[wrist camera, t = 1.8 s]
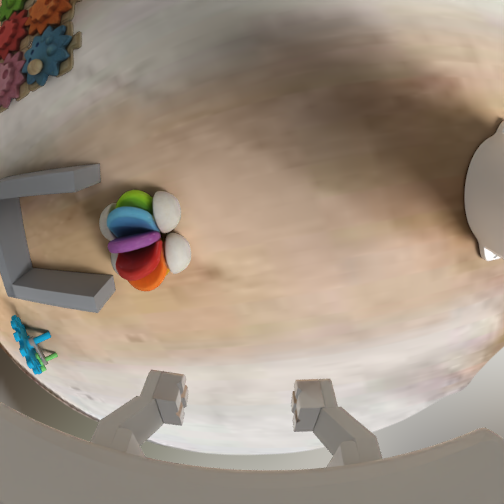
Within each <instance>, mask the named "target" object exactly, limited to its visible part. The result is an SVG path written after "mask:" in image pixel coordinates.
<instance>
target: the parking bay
mask: <svg viewBox="0 0 504 504" xmlns="http://www.w3.org/2000/svg"><path fill="white" fill-rule="evenodd" d="M100 182H101V178H100V164H90V165H81V166H73V167H65V168H57V169H50V170H43V171H37V172H31V173H25V174H19V175H14V176H9V177H5V178H2V179H0V273H1V277H2V280H3V283H4V286H5V289H6V292H7V295H8V296H9V297H13V298H18V299H22V300H27V301H32V302H37V303H42V304H47V305H53V306H58V307H64V308H70V309H76V310H82V311H88V312H95V313H98V312H99V311H100V310H101V308H102V307H103V306H104V304H105V303H106V302H107V301H108V299H109V298H110V297H111V295H112V294H113V293H114V292H115V290H116V289H115V284H114V279H113V275H102V274H91V273H80V272H69V271H58V270H49V269H39V268H33V266H32V263H31V259H30V254H29V250H28V246H27V241H26V236H25V231H24V226H23V220H22V214H21V208H20V201H19V197H25V196H35V195H46V194H57V193H71V192H77V191H80V190H82V189H84V188H87V187H89V186H92V185H94V184H97V183H100Z"/></svg>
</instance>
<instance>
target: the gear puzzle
mask: <svg viewBox="0 0 504 504" xmlns="http://www.w3.org/2000/svg"><path fill="white" fill-rule="evenodd" d="M80 1H82V0H2V6H1V7H0V21H1V27H0V113H1V112H3V111H4V110H6V109H7V108H8V107H9V105H10V102H11V99H12V98H16V101H19V100H21V99H22V98H24V97H25V96H27V95H28V94H29V92H30V91H35V90H37V89H38V88H40V87H42V86H43V85H44V84H45V82H46V81H47V79H48V76H49V75H51V76H56V77H60V76H62V75H64V74H66V73H68V72H69V71H71V69H72V68H73V63H74V60H73V51H74V50H75V49H78V48H80V47H81V44H82V33H81V32H77V33H76V34H75V35H74V36H73V23H72V22H71V20H72V19H73V17H74V10H75V3H76V2H80ZM35 2H36V3H35ZM34 3H35V4H34ZM33 4H34V5H33ZM31 42H32V44H31V45H30V43H31ZM29 45H30V47H29V48H28V46H29Z"/></svg>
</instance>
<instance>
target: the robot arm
mask: <svg viewBox="0 0 504 504" xmlns="http://www.w3.org/2000/svg"><path fill="white" fill-rule="evenodd" d="M465 211H466V216H467V220H468V223H469V226H470V228H471V230H472V232H473V234H474V235H475V237H476V238H477V240H478V242H479V249H480V254H481V257H482V258H483V259H484V260H486V261H492V260H495V259H499V258H502V259H504V121H502V122H501V124H500V125H499V127H498V129H497V131H496V133H495V134H494V135H493V136H491V137H489V138H488V139H486V140H485V141H484V142H483V143H482V144H481V145H480V146H479V147H478V149H477V150H476V152H475V154H474V156H473V158H472V160H471V163H470V165H469V169H468V172H467V177H466V183H465ZM185 383H186V377H185V375H184V374H177V373H170V372H164V371H157V370H151V371H150V372H149V374H148V377H147V379H146V382H145V384H144V387H143V390H142V392H141V395H140V396H136V397H134V398H133V399H132V400H130V401H129V402H127V403H126V404H124V405H123V406H121V407H120V408H118V409H117V410H115V411H114V412H112V413H111V414H109V415H108V416H106V417H105V418H103V419H101V420H100V421H99V423H98V425H97V428H96V430H95V432H94V434H93V437H92V439H91V441H90V442H89V441H86V440H83V439H80V438H77V437H74V436H72V435H69V434H67V433H64V432H61V431H59V430H57V429H54V428H52V427H50V426H47V425H45V424H43V423H41V422H38V421H36V420H34V419H32V418H30V417H28V416H26V415H24V414H22V413H20V412H18V411H16V410H14V409H12V408H11V407H9V406H7V405H5V404H3V403H1V402H0V504H504V438H502V437H501V436H499V435H498V434H496V433H494V432H493V431H491V430H489V429H486V428H479V429H477V430H474V431H472V432H469V433H467V434H464V435H462V436H459V437H456V438H454V439H451V440H448V441H445V442H442V443H439V444H437V445H433V446H430V447H427V448H423V449H420V450H417V451H413V452H409V453H405V454H401V455H397V456H393V457H389V458H384V459H382V456H381V452H380V448H379V445H378V442H377V438H376V436H375V435H374V434H373V433H371V432H370V431H369V430H368V429H367V428H365V427H364V426H363V425H362V424H361V423H359V422H358V421H357V420H356V419H355V418H354V417H352V416H351V415H350V414H349V413H348V412H347V411H345V410H344V409H343V408H342V407H338V405H337V401H336V397H335V393H334V389H333V385H332V381H331V379H308V380H295V383H294V390H295V391H293V393H292V400H291V407H292V412H293V413H294V416H293V428H294V432H300V431H313V433H314V434H315V435H316V436H317V437H318V439H319V440H320V441H321V442H322V443H323V445H324V446H325V447H326V448H327V449H328V450H329V451H330V453H331V454H332V455H333V457H332V459H331V461H330V462H329V464H328V465H327V467H326V468H317V469H304V470H303V469H302V470H279V471H278V470H271V471H270V470H269V471H266V470H263V471H262V470H234V469H220V468H209V467H199V466H192V465H185V464H179V463H172V462H166V461H161V460H156V459H151V458H147V457H145V455H144V453H143V451H142V449H141V448H140V446H141V445H142V444H143V443H144V442H145V441H146V440H147V439H148V438H149V437H150V436H151V435H152V434H154V433H155V432H156V431H157V430H158V429H159V428H160V427H161V426H162V425H163V423H166V424H173V425H181V426H182V424H183V419H184V415H185V413H184V408H185V407H186V406H187V401H188V387H187V386H186V385H185Z"/></svg>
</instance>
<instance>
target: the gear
mask: <svg viewBox="0 0 504 504" xmlns="http://www.w3.org/2000/svg"><path fill="white" fill-rule="evenodd" d="M11 318H12V321H11V326H12V328H13V329H15V331H16V332H15V333H13V335H14V338H15V340H16V342H18V341H19V343H20V348H19V350H20V353H21V354H22V356H23V357H24V356H25V358H26V361H27V365H28V367H29V368H30V369H31V368H32V369H33V372H34V374H41V373H42V372H43V371H45V370H46V367H45V366H44V365H47V364H48V362H47V361H49V360H51V359H53V358H55V357H58V356H57V354H56V353H53V354H51V355H49V356H47V357H45V356H44V354H43V353H42V351H41V349H40V348H39V346H38V343H40V342H42V341H44V340H46V339H49V338H51V335H50V333H49V331H48V332H46V333H44V334H42V335H40V336H37V337H35V338H34V337H30V336H29V335H28V336H27V333H26V328H25V326H24V325H23V324H22V323H21V320H20V318H19V317H17V316H16V315H14V316H12V317H11ZM34 347H35V348H34ZM35 349H36V350H37V352H38V353H37V352H36V350H35ZM39 355H40V356H39ZM40 357H41V359H40Z"/></svg>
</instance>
